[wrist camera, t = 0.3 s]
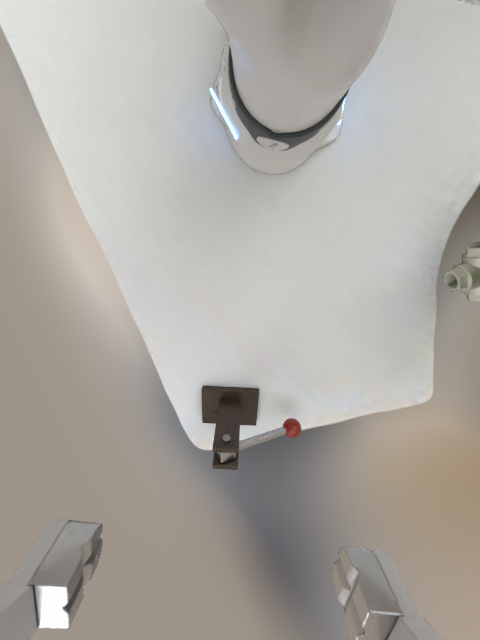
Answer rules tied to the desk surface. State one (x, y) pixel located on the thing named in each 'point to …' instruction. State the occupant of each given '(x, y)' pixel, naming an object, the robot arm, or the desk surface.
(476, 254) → the ball valve
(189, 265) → the desk surface
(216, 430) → the block
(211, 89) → the robot arm
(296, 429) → the tap lever
